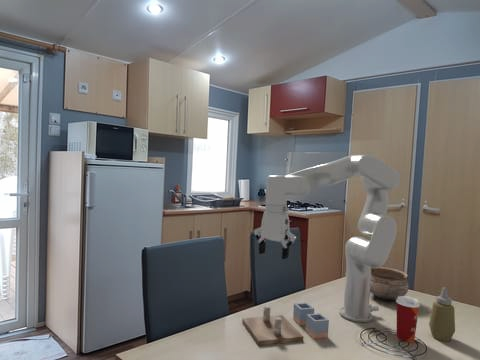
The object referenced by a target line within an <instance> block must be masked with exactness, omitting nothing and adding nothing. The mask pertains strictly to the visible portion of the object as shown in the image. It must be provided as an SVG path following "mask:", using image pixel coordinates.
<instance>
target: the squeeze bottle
mask: <svg viewBox="0 0 480 360" xmlns="http://www.w3.org/2000/svg"><path fill="white" fill-rule="evenodd" d="M455 317H456V316H455V307H454V306H453V303H452V298H451V297H449V293H448V288H447V287H442V289H441V293H440V294H439V295H437V296H436V300H435V301H434V302H433V303H432V308H431V312H430V319H429V322H428V326H429V329H430V332H431V333H430V334H431V335H432V337H433V338H435V339H436V340H439V341H442V342H450V341H451V340H452V338H453V336H454V334H455V332H456V322H455V321H456V318H455Z"/></svg>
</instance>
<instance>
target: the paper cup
mask: <svg viewBox="0 0 480 360" xmlns="http://www.w3.org/2000/svg"><path fill="white" fill-rule="evenodd" d="M395 302H396V338H397V339H398V340H399V341H401V342H404V343H411V344H412V343H414V342H415V339H416V330H417V326H418V325H417V324H418V319H419V312H420V311H419V309H420V307H421V304H420V301H419V300H418V299H417V298H414V297H412V296H409V295H408V296H407V295H404V296H398V298H397V299H395Z"/></svg>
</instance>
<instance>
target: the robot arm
mask: <svg viewBox="0 0 480 360" xmlns="http://www.w3.org/2000/svg"><path fill="white" fill-rule="evenodd" d="M357 177H359V178H360V182H361V183H362V185H363V188H364V190H365V192H366V200H365V202H364V206H363V209H362V211H361V214H360V217H359V219H358V222H357V230H358V232H360V233H361V234H363V235H365V236H367V237H370V239H369V238H365V237H362V236H352V237H351V238H349V239H348V240H347V241H346V243H345V246H344V247H345V248H344V254H345V262H346V267H345V281H344V282H345V283H344V284H345V285H344V295H343V297H344V300H343V306H342V307H341V308H340V309H339V311H338V312H339V313H338V314H339V315H340V316H341V317H342V318H344V319H346V320H348V321H352V322H355V323H368V322H369V323H370V322H371V321H372V320H373V314H372V313H373V312H379V310H380V308H379V305H373V306H372V304H370V296H371V292H370V284H371V268H370V267H373V268H378V267H383V266H384V265H385V263H386V262H387V260H388V258H389V256H390V253H391V250H392V247H393V245H394V242H395V240H396V236H397V232H398V225H397V223H396V221H395V219H394V218H393V217H392V216H390V215H387V210H388V208H389V204H390V202H389V201H390V200H389V195H388V193H387V191H393V190H395V189H396V188H398V187H399V185H400V183H401V177H400V173H399V172H398V171H397V170H396V169H395V168H394V167H392V166H390V165H388V164H387V163H385V162H383V161H381V160H380V159H378V158H376V157H375V156H372V155H370V154H352V155H348V156H344V157H342V158H339V159H336V160H333V161H329V162H327V163H324V164H320V165H316V166H312V167H308V168H305V169H302V170H298V171H295V172H293V173H290V174H287V175H278V174H277V175H276V174H275V175H268V176H267V179H266V194H265V208H264V209H265V211H264V212H263V215H262V218H261V225H260V227H258V228H255V229H254V230H253V233H254V235H255V238H256V240H257V243H258V254H259V255H261V254H265V253H266V245H267V244H266V240H268V241H272V242H273V241H274V242H277V243H280V244H281V245H282V246H283V247H282V248H281V250H282V251H281V259H282V260H286V259H288V257H289V253H290V248H291V246H292V245H294V243H295V241H296V240H297V236H296V235H295V234H293V232H291V231H290V217H289V214H288V213H287V212H290V208H289V207H288V205H287V203H288V202H287V199H288V196H293V197H298V198H299V197H304V196H306V195H309V193H310V191H311V188H313V187H327V186H328V187H329V186H333V185H336V184H339V183H342V182H344V181H347V180H350V179H353V178H357Z"/></svg>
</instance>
